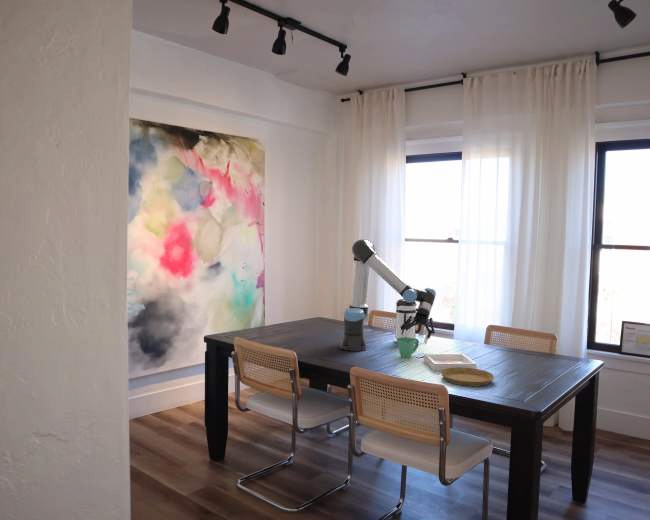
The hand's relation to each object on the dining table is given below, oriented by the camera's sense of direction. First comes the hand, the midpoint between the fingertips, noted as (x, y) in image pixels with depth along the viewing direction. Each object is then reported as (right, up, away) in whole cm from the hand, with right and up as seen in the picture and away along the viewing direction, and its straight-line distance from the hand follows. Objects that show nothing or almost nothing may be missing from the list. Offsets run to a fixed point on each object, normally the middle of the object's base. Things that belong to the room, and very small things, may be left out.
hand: (413, 341), depth 296 cm
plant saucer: (+17, -11, -48) cm, 52 cm away
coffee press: (+2, -6, +38) cm, 38 cm away
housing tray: (+15, -9, -22) cm, 28 cm away
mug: (-3, -8, -2) cm, 9 cm away
